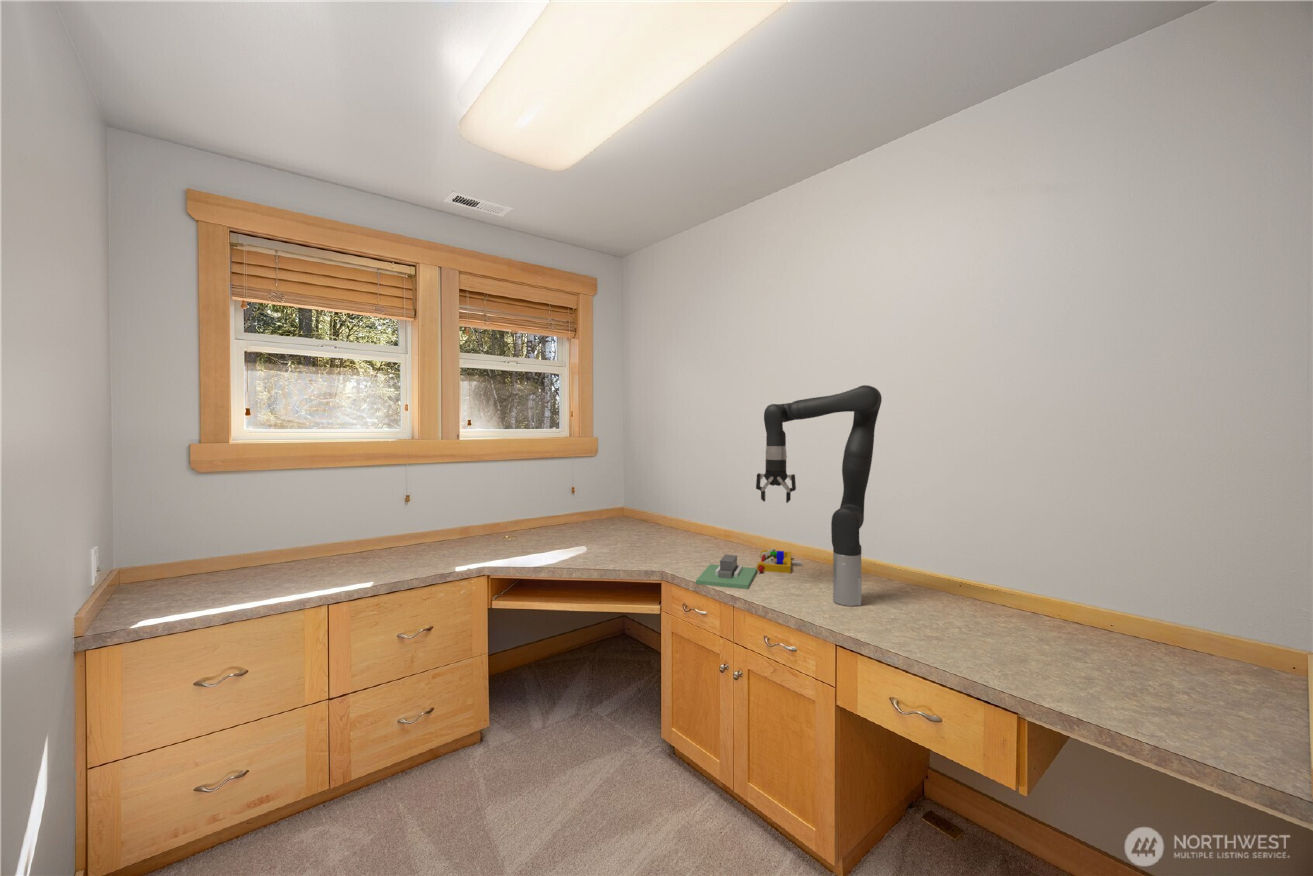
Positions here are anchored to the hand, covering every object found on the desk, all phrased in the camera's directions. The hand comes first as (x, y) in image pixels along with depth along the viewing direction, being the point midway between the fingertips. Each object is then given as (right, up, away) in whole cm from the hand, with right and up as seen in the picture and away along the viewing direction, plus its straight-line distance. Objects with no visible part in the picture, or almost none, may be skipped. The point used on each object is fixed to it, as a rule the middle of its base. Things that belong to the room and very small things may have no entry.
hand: (775, 501), depth 196 cm
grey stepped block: (-15, -31, +18) cm, 39 cm away
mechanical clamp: (+10, -33, +35) cm, 49 cm away
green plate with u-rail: (-16, -33, +17) cm, 40 cm away
